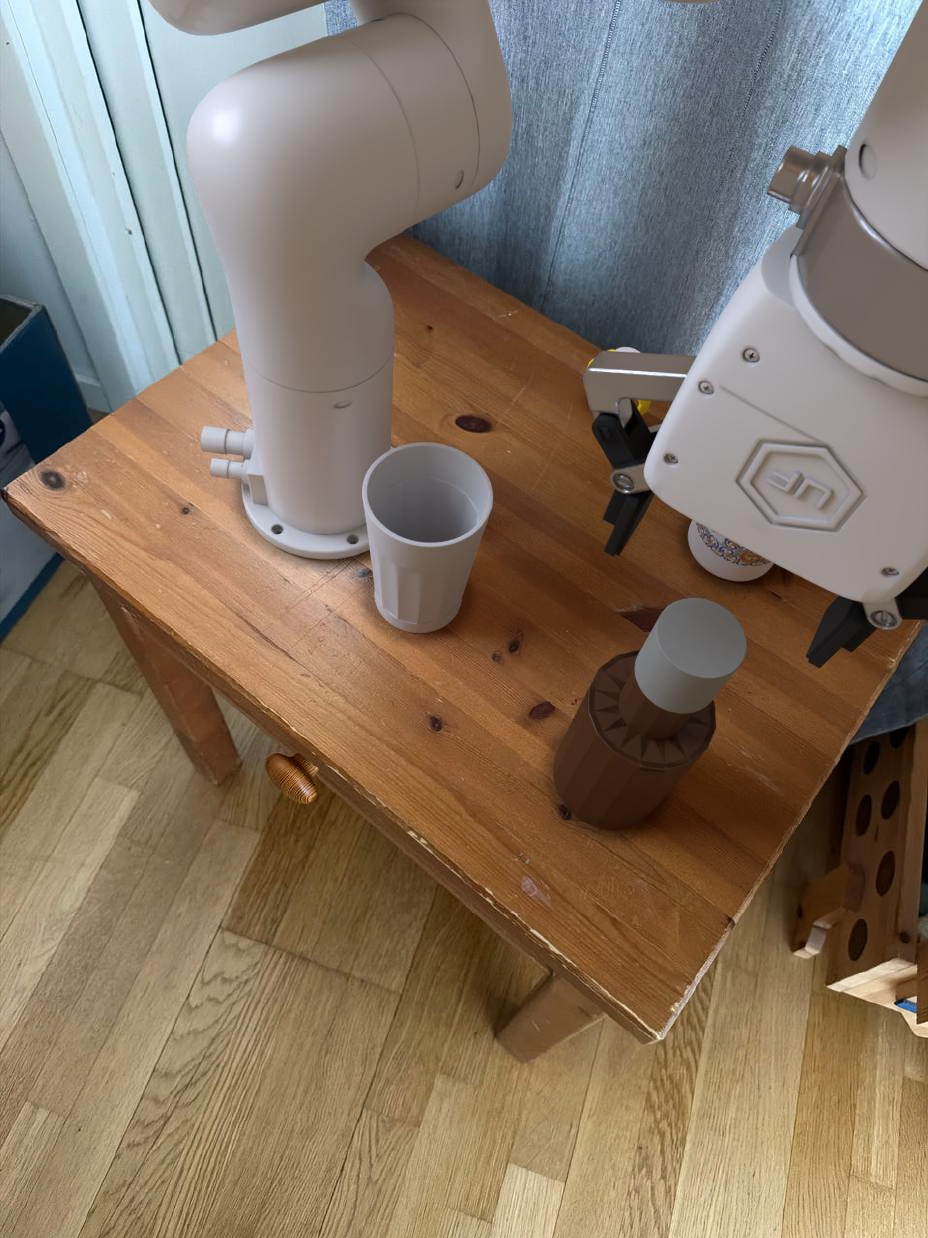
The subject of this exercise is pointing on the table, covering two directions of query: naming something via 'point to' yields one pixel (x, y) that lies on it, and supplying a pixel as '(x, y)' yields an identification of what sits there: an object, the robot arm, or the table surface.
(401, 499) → the cup
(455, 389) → the table surface
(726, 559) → the bath foam
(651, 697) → the bung
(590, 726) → the bottle
